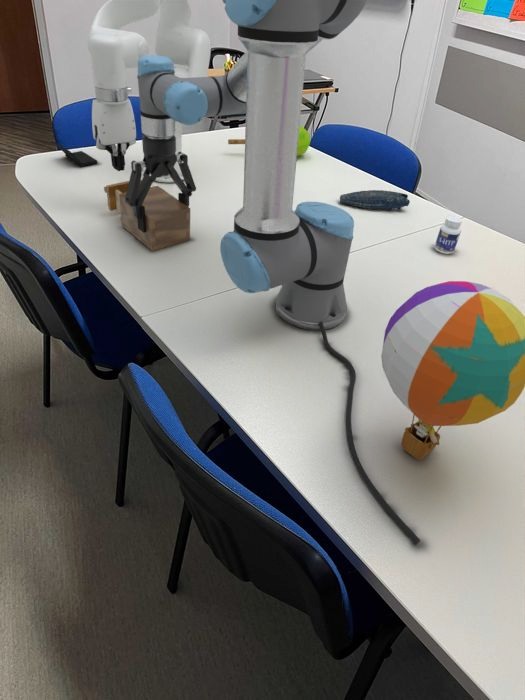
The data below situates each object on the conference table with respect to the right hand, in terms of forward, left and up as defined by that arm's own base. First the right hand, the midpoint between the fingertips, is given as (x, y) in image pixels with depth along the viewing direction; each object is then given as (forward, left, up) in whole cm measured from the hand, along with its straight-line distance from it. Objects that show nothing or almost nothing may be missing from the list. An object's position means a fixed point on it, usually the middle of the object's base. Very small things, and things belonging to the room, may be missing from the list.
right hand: (163, 224), depth 130 cm
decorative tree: (+74, -17, -4) cm, 76 cm away
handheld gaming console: (+45, +43, -4) cm, 62 cm away
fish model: (+40, -54, -4) cm, 67 cm away
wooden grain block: (+3, +3, -4) cm, 6 cm away
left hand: (+13, +16, +7) cm, 22 cm away
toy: (-58, -60, -4) cm, 83 cm away
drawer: (+10, +12, -2) cm, 16 cm away
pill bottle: (+16, -73, -4) cm, 75 cm away
